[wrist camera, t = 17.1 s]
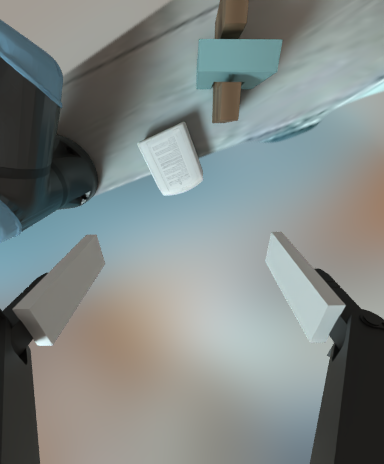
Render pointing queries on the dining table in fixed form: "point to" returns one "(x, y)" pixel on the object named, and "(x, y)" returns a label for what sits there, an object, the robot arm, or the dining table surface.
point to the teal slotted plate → (237, 61)
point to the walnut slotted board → (228, 27)
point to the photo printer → (172, 160)
